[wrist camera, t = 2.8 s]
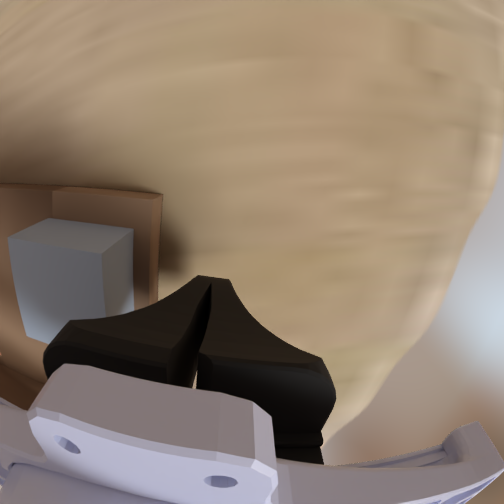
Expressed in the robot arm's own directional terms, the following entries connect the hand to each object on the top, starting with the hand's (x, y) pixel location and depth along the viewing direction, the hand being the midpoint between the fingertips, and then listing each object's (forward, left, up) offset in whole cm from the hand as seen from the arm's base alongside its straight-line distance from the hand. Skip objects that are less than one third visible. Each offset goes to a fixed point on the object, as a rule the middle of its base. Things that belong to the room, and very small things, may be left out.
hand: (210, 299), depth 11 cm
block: (0, +6, -1) cm, 6 cm away
